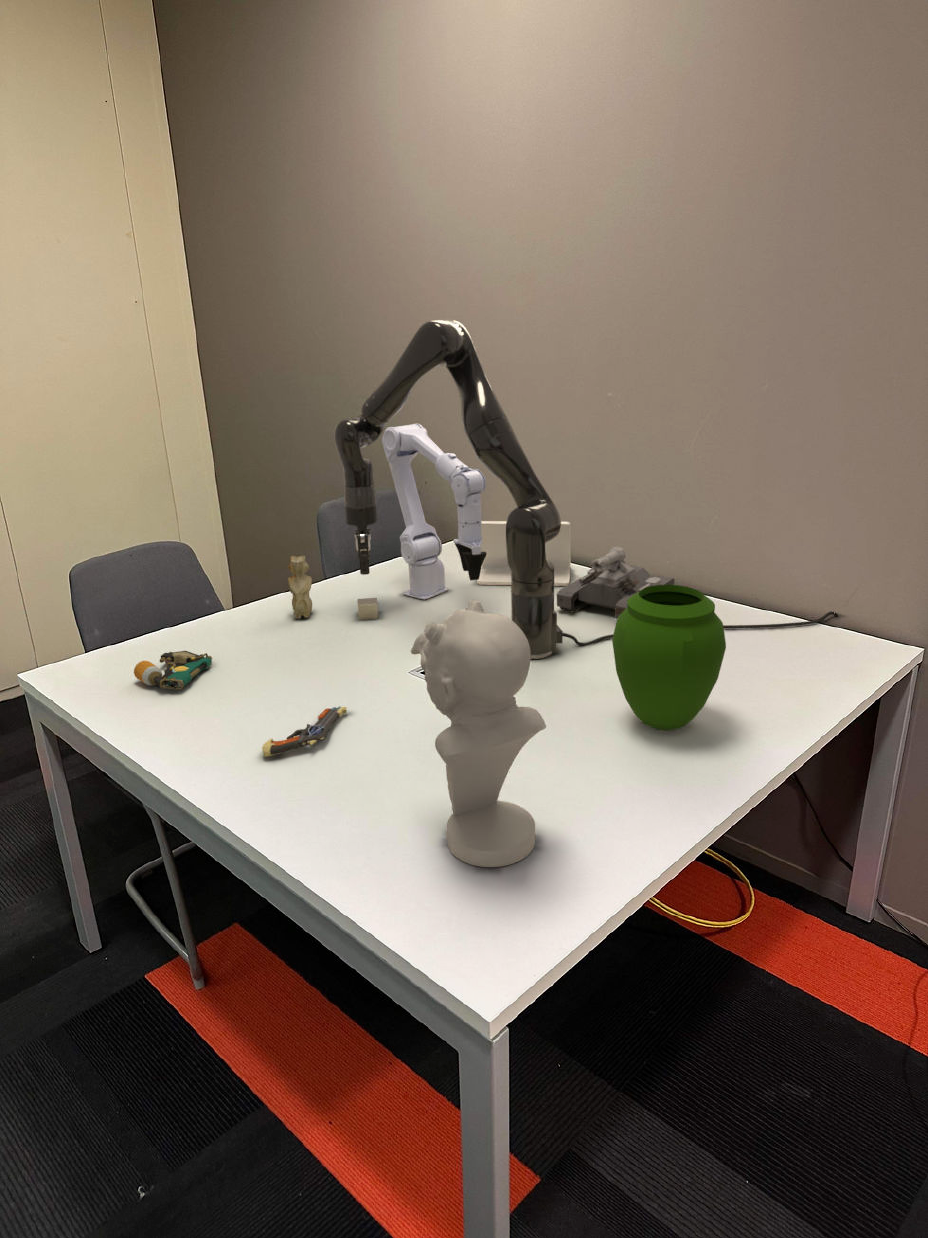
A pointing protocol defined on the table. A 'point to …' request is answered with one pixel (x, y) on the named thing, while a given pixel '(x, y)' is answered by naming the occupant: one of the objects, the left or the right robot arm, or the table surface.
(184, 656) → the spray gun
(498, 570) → the tablet stand
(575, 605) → the toy
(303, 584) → the sculpture
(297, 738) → the toy gun
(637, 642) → the vase
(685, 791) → the table surface
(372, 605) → the brick
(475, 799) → the bust sculpture
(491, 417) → the right robot arm
